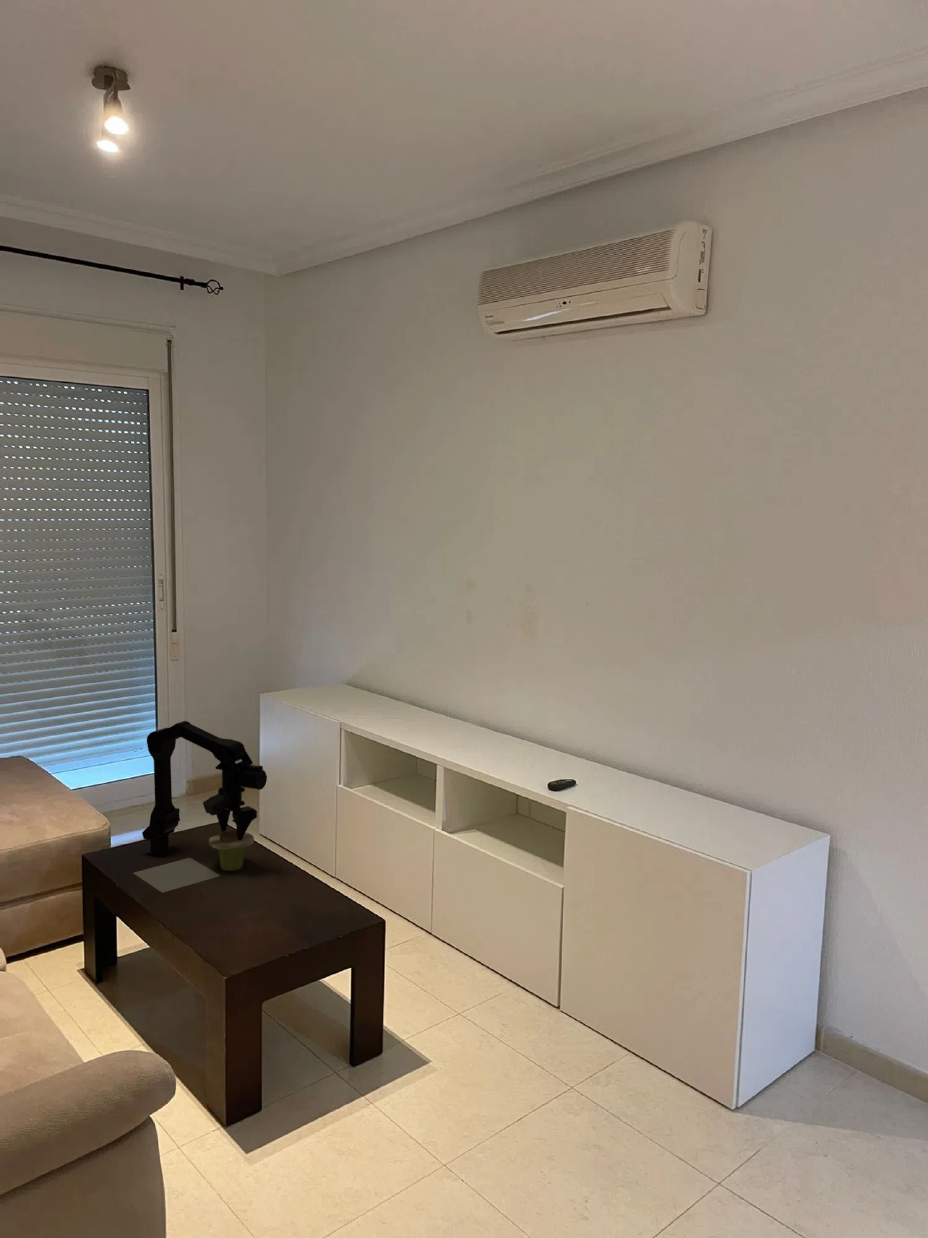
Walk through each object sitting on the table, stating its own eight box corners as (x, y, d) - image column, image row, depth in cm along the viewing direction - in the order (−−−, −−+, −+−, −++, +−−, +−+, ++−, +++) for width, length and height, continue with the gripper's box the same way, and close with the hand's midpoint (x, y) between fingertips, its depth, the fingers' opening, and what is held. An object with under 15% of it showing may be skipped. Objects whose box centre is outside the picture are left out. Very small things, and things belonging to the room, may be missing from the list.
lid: (200, 840, 268) (200, 831, 268) (239, 831, 277) (239, 821, 277) (223, 853, 259) (223, 843, 259) (262, 842, 268) (262, 833, 268)
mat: (132, 876, 262) (132, 873, 262) (189, 860, 275) (189, 857, 275) (162, 896, 249) (162, 892, 249) (220, 879, 262) (220, 875, 262)
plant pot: (250, 874, 267) (250, 845, 266) (217, 877, 263) (217, 849, 262) (245, 862, 275) (245, 834, 274) (213, 865, 272) (213, 838, 271)
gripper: (191, 782, 267) (191, 833, 269) (224, 798, 254) (223, 851, 256) (224, 775, 275) (224, 825, 277) (258, 790, 262) (257, 842, 264)
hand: (231, 835), depth 268 cm, fingers open, 9 cm apart
